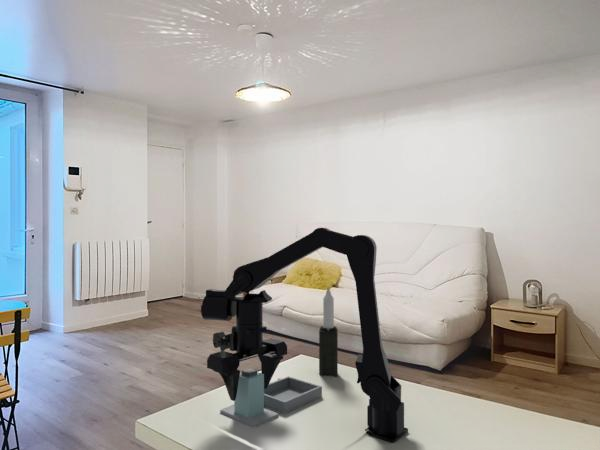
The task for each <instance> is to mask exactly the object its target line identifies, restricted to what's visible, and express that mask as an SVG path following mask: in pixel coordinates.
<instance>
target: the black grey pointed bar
mask: <svg viewBox="0 0 600 450" xmlns="http://www.w3.org/2000/svg"><path fill="white" fill-rule="evenodd" d="M322 299H323V301H322V302H323V303H322V305H323V306H322V307H323V310H322V311H323V312H322V313H323V319H322V322H323V324H322V325H321V326H320V328H319V331H318V335H319V336H318V338H319V339H318V341H319V342H318V345H319V347H318V349H319V350H318V354H319V355H318V371H319V373H318V375H319V376H321V377H322V376H323V377H325V376H331V377H334V378H338V377H339V376H338V365H339V364H338V362H339V361H338V359H339V355H338V350H339V346H338V337H339V336H338V335H339V334H338V328H337V327H338V326H335V325H334V324H335V323H334V322H335V321H334V319H335V318H334V316H335V313H334V311H335V309H334V306H335V305H334V303H335V302H334V301H335V300H334V297H333V295H332V293H331V287H330V286H329V285H327V287H326V291H325V295H324V296H323V298H322Z"/></svg>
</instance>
